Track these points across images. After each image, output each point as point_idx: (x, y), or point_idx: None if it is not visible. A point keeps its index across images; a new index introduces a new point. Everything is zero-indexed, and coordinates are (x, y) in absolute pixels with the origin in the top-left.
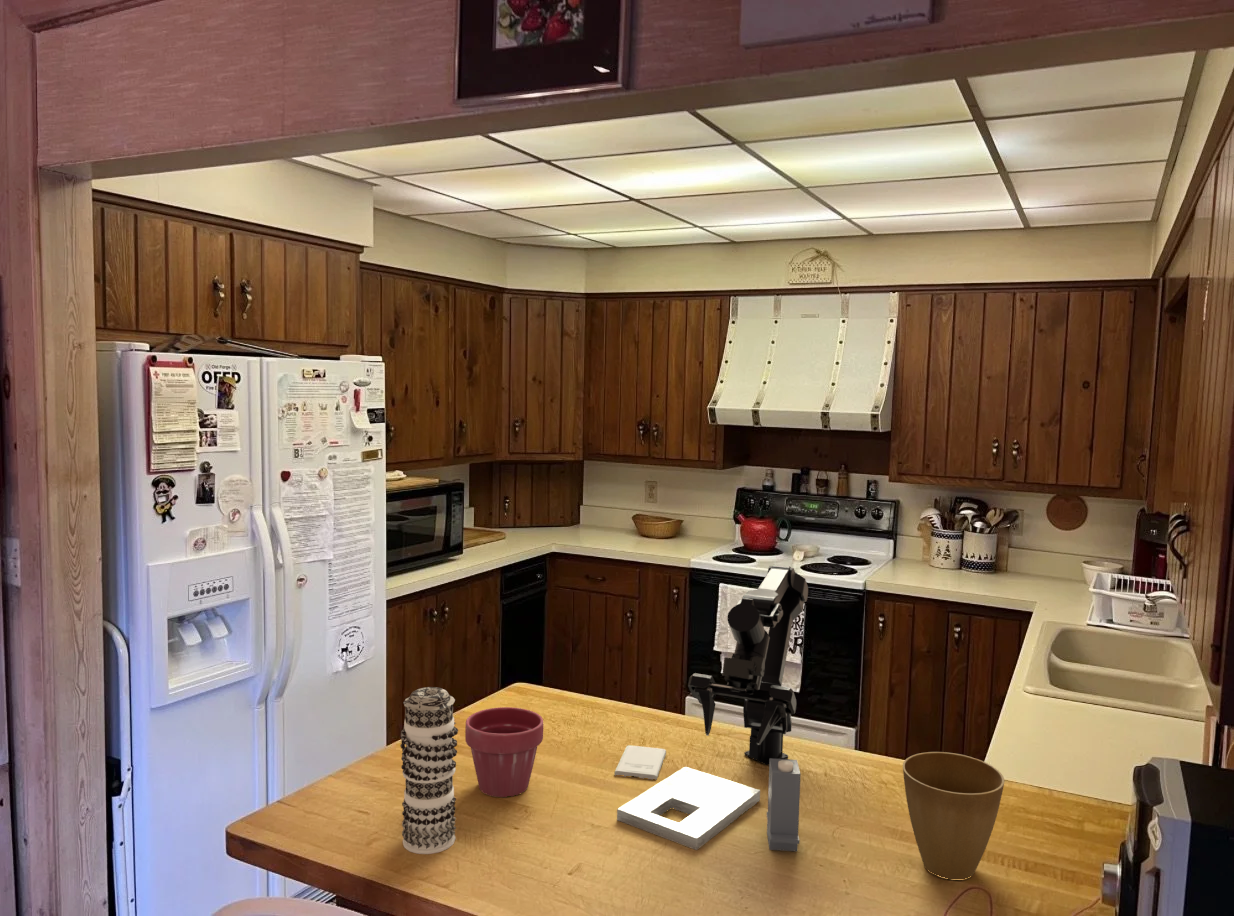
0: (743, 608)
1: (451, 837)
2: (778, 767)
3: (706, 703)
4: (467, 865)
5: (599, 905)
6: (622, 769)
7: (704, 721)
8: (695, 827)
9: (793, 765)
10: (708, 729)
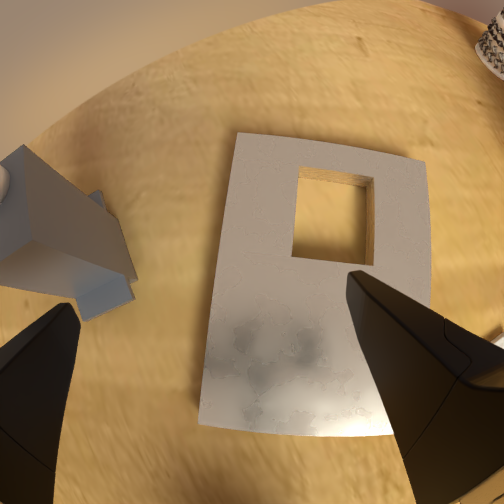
0: None
1: (483, 51)
2: (5, 170)
3: (484, 365)
4: (441, 33)
5: (287, 11)
6: (502, 345)
7: (404, 294)
8: (259, 165)
9: None
10: (355, 285)
